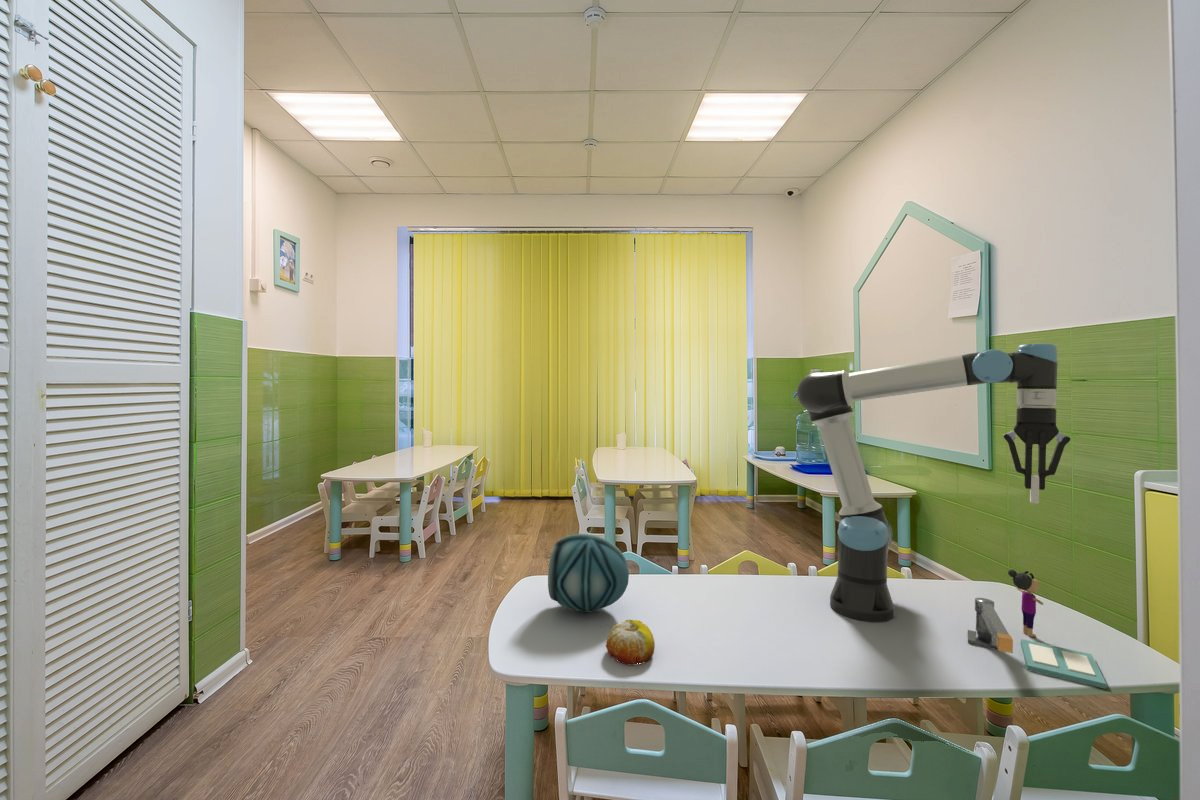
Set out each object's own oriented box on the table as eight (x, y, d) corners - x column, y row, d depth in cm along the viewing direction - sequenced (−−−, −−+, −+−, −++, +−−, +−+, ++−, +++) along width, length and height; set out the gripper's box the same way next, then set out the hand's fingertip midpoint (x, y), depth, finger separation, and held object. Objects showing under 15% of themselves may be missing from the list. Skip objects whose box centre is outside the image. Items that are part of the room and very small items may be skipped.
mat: (1027, 669, 109) (1027, 663, 109) (1020, 643, 120) (1020, 637, 120) (1106, 689, 102) (1106, 682, 102) (1091, 658, 114) (1091, 652, 114)
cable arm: (973, 607, 123) (973, 596, 123) (992, 610, 122) (992, 599, 122) (994, 649, 103) (994, 636, 103) (1017, 654, 102) (1017, 640, 102)
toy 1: (560, 594, 147) (560, 523, 147) (631, 598, 144) (631, 526, 144) (544, 624, 129) (544, 543, 128) (625, 629, 126) (625, 547, 125)
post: (967, 643, 120) (968, 614, 120) (967, 633, 125) (968, 605, 125) (1000, 650, 117) (1001, 621, 117) (999, 639, 122) (999, 611, 122)
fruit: (603, 639, 120) (613, 606, 120) (646, 653, 120) (657, 620, 120) (602, 664, 109) (614, 627, 109) (650, 679, 109) (662, 643, 109)
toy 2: (1051, 646, 119) (1052, 580, 119) (1023, 643, 120) (1024, 578, 120) (1023, 625, 129) (1025, 565, 129) (998, 623, 130) (999, 563, 130)
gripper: (1003, 406, 129) (1001, 501, 130) (1074, 407, 122) (1072, 508, 122) (1001, 405, 135) (1000, 496, 136) (1069, 407, 128) (1067, 503, 128)
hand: (1034, 502), depth 129 cm, fingers closed
